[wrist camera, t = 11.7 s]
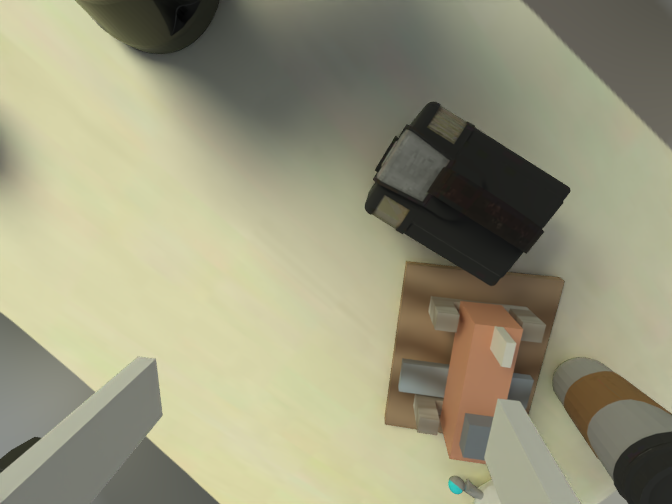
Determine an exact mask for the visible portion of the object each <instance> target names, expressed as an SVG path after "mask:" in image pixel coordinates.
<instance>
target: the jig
mask: <svg viewBox="0 0 672 504" xmlns="http://www.w3.org/2000/svg"><path fill="white" fill-rule="evenodd" d="M564 282H565V281H564V280H562V279H561V278H559V277H551V276H541V275H532V274H522V273H512V272H507V273H506V274H505V276H504V277H503V278H502V277H501V279H500V280H499V281H498V282H497V284H496V285H494V286H489V285H488V284H486V283H485V282H483V281H481V280H480V279H478V278H476V277H475V276H473V275H472V274H470V273H468V272H467V271H465V270H463V269H462V268H460V267H455V266H446V265H436V264H426V263H417V262H407V261H406V265H405V273H404V280H403V287H402V295H401V302H400V309H399V317H398V324H397V331H396V338H395V346H394V353H393V360H392V368H391V375H390V382H389V390H388V397H387V404H386V411H385V424H386V425H392V426H399V427H406V428H412V429H417V432H419V433H426V434H432V435H437V433H438V432H439V433H443V431H442V427H441V423H440V417H441V411H442V405H443V400H444V394H445V388H446V382H447V376H448V371H449V365H450V359H451V353H452V348H453V342H454V336H455V332H457V327H458V322H459V317H460V314H459V307H460V301H466V302H476V303H485V304H495V305H502V306H503V307H504V308H505V310H506V311H507V312H508V313H509V314H510V315H511V316H512V317H513V318H514V320H515V321H516V322H517V323H518V324H519V325H520V326H521V327H522V328H523V333H522V337H521V341H520V346H519V350H518V354H517V359H516V363H515V367H514V372H513V376H512V380H511V385H510V389H509V393H508V398H507V400H515V401H520V402H521V404H522V406H523V407H524V409H525V411H526V412H527V414H529V410H530V407H531V403H532V399H533V396H534V392H535V388H536V385H537V381H538V377H539V374H540V370H541V366H542V363H543V359H544V355H545V352H546V348H547V344H548V341H549V337H550V333H551V330H552V326H553V322H554V319H555V315H556V311H557V308H558V304H559V300H560V297H561V293H562V289H563V286H564Z"/></svg>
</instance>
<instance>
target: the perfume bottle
mask: <svg viewBox="0 0 672 504" xmlns="http://www.w3.org/2000/svg"><path fill="white" fill-rule="evenodd" d="M448 485H449V488H450V490H451V491H452V492H453V493H454V494H460V493H462V492H463V491H465V492H466V493H468V494H469V495H470V496H472V497H473V498H475V499H474V502H473V504H501V503H500V500H499V497H498V495H497V492H496V489H495V486H494V484H493V481H492V479H491V480H489V481H488V482H486V483H484V484H483V485H481V486H479V487H478V488H476V487H475V486H474V485H473V484H472V483H471V482H470V481H469V480H468V479H466V481H465V483H464V482H463V480H462V479H461V478H460V477H458V476H452V477H450V478H449V482H448Z"/></svg>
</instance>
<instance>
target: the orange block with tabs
mask: <svg viewBox="0 0 672 504" xmlns="http://www.w3.org/2000/svg"><path fill="white" fill-rule="evenodd" d="M459 314H460V317H459V322H458V327H457V332H455V336H454V342H453V348H452V353H451V359H450V365H449V371H448V376H447V382H446V388H445V394H444V400H443V405H442V411H441V417H440V423H441V427H442V431H443V435H444V439H445V443H446V447H447V451H448V454H449V458H450V459H455V460H462V461H468V462H475V463H482V464H486V462H485V459H484V456H485V452H486V448H487V443H488V439H489V435H490V430H491V426H492V422H493V417H494V413H495V408H496V404H497V400H498V399H506V400H507V398H508V393H509V389H510V385H511V380H512V376H513V372H514V367H515V363H516V359H517V354H518V350H519V346H520V341H521V337H522V333H523V328H522V327H521V326H520V325H519V324H518V323H517V322H516V321H515V320H514V318H513V317H512V316H511V315H510V314H509V313H508V312H507V311H506V310H505V308H504V307H503V306H502V305H495V304H485V303H476V302H466V301H460V307H459Z"/></svg>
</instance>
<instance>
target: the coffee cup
mask: <svg viewBox="0 0 672 504" xmlns="http://www.w3.org/2000/svg"><path fill="white" fill-rule="evenodd" d="M553 390H554V391H555V393H556V395H557V397H558V398H559V400H560V401H561V403H562V404H563V406H564V408H565V410H566V411H567V413H568V414H569V416H570V417H571V419H572V420H573V422H574V424H575V425H576V427H577V428H578V430H579V431H580V433H581V434H582V436H583V437H584V439H585V440H586V442H587V443H588V445H589V446H590V448H591V449H592V451H593V452H594V454H595V455H596V457H597V458H598V459H599V460H600V461H601V463H602V464H603V466H604V467H605V469H606V470H607V472H608V473H609V475H610V476H611V478H612V479H613V481H614V485H615V487H616V489H617V490H618V492H619V494H620V495H621V496H622V497H623V498H624V499H625V500H627V502H628V504H672V414H671V413H670V412H668V411H667V410H666V409H664V408H663V407H662V406H660V405H659V404H658V403H656V402H655V401H654V400H652V399H651V398H650V397H648V396H647V395H645V394H644V393H643V392H641V391H640V390H639V389H637V388H636V387H635V386H633V385H632V384H631V383H629V382H628V381H627V380H625V379H624V378H623V377H621V376H620V375H618V374H616V373H614V372H613V371H612V370H610V369H609V368H608V367H606V366H605V365H604V364H602V363H601V362H599V361H597V360H593V359H590V358H580V357H578V358H573V359H570V360H567V361H565V362H564V363H562V364H561V365H560V366H559V367H558V368H557V369H556V370H555V372H554V375H553Z"/></svg>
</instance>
